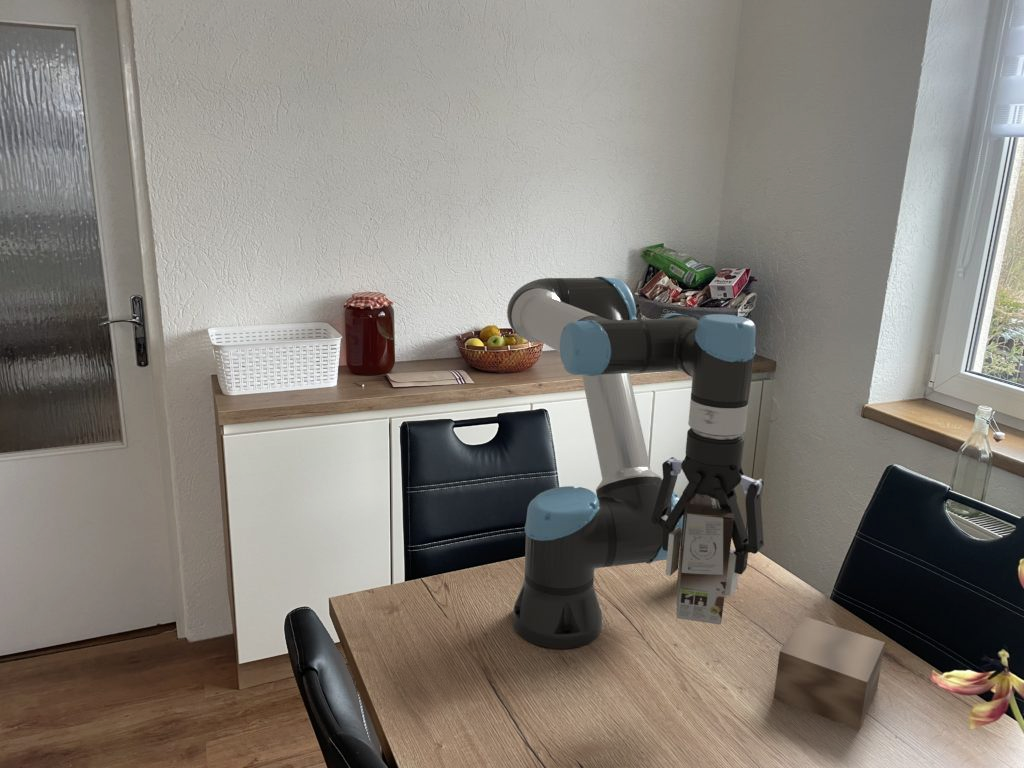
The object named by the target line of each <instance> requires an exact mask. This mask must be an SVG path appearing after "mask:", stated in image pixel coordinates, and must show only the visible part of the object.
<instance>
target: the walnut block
mask: <svg viewBox="0 0 1024 768" xmlns="http://www.w3.org/2000/svg"><path fill="white" fill-rule="evenodd" d="M885 644H886V642H885V641H881V640H880V639H875V638H872V637H869V636H866V635H863V634H860V633H857V632H855V631H851V630H848V629H845V628H841V627H839V626H836V625H833V624H829V623H826V622H823V621H821V620H817V619H814V618H811V617H808V616H805V615H802V617H801V618H800V620H799V621H798V623H797V624H796V626H795V627H794V629H793V630H792V631H791V633H790V635H789V636H788V638H787V639H786V641H785V642H784V644H783V645H782V647H781V648H780V650H779V654H778V659H777V660H778V661H777V669H776V675H775V676H776V678H775V685H774V692H773V698H775V699H777V700H780V701H782V702H785V703H787V704H790V705H793V706H794V707H798V708H800V709H803V710H805V711H808V712H810V713H812V714H815V715H818V716H820V717H824V718H826V719H829V720H830V721H833V722H837V723H838V724H841V725H843V726H846V727H849V728H851V729H854V730H856V731H861V728H862V726H863V723H864V721H865V719H866V717H867V714H868V711H869V709H870V707H871V704H872V701H873V699H874V697H875V696H876V695H875V694H876V692H877V689H878V687H879V686H878V685H879V679H880V676H881V675H880V674H881V669H882V663H883V656H884V650H885V646H886V645H885Z"/></svg>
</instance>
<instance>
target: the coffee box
mask: <svg viewBox="0 0 1024 768" xmlns="http://www.w3.org/2000/svg"><path fill="white" fill-rule="evenodd" d="M733 523H734V514H733V512H729V511H726V510H723V509H722V507H720V505H719V502H718V499H714V498H711V497H709V496H708V495H699V494H696V495H695V496H694V497H693V498H692V499H691V500H689V501H686V504H685V509H684V514H683V523H682V534H681V545H680V553H679V563H678V569H677V579H676V580H677V581H676V583H677V584H676V618H677V619H681V620H685V621H686V620H687V621H694V622H700V623H707V624H712V625H721V624H722V620H723V613H724V612H723V610H724V605H725V604H724V603H725V598H726V597H725V596H726V595H725V589H726V580H727V572H728V563H729V555H730V551H731V546H732V531H733Z"/></svg>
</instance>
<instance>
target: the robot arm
mask: <svg viewBox="0 0 1024 768" xmlns="http://www.w3.org/2000/svg"><path fill="white" fill-rule="evenodd" d="M636 314H637V307H636V302H635V299H634V296H633V294H632V291H631V289H630V288H629V287H628V285H627V284H626V283H625V282H624V281H623V280H620V279H619V278H615V277H604V276H594V277H559V278H558V277H545V278H539V279H535V280H532V281H530V282H527V283H525V284H523V285H522V286H521V287H519V288H517V290H516V291H515V292H514V294H512V296H511V298H510V299H509V301H508V304H507V310H506V317H507V321H508V323H509V326H510V328H511V329H512V330H513V332H514V333H515V334H516V335H518V336H519V337H520V338H522V339H524V340H525V341H527V342H530V343H531V342H532V343H542V344H543V345H546V346H548V347H550V349H551V348H552V349H553V350H555V351H557V352H558V353H559V354H560V360H561V363H562V364H563V368H564V370H565V371H566V372H567V373H568V374H570V375H573V376H574V375H575V376H581V377H582V383H583V388H584V393H585V397H586V404H587V407H588V412H589V417H590V424H591V428H592V429H591V430H592V435H593V439H594V443H595V444H594V445H595V450H596V455H597V459H598V463H599V469H600V474H601V480H600V483H599V484H598V485H597V487H596V489H595V492H594V491H592V490H590V489H589V488H585V487H581V486H578V487H574V486H570V485H569V486H567V485H566V486H560V487H554V488H550V489H547V490H545V491H543V492H540V493H539V494H537V495H536V496H535V497H534V498H533V499H532V500H531V501H530V502H529V504H528V506H527V510H526V511H527V512H526V521H525V524H524V532H525V549H524V550H525V551H524V552H525V553H524V581H523V583H522V585H521V588H520V591H519V593H518V596H517V598H516V600H515V603H514V606H513V610H512V626H513V629H514V631H515V632H516V633H517V634H518V635H519V636H520V637H521V638H522V639H524V640H526V641H527V642H529V643H532V644H534V645H536V646H540V647H544V648H548V649H558V650H560V649H561V650H562V649H574V648H579V647H583V646H585V645H588V644H589V643H592V642H593V641H594V640H595V639H597V637H598V636H599V635H600V634H601V632H602V626H603V625H602V623H603V613H602V609H601V608H600V603H599V599H598V596H597V592H596V589H595V584H594V580H595V579H594V578H595V570H596V569H601V568H609V567H610V568H612V567H618V566H620V567H621V566H628V565H637V564H643V563H645V564H652V563H654V562H659V561H664V560H666V566H665V575H666V576H668V577H671V576H672V575H673V574H674V573H675V572H677V571H678V568H679V556H680V545H681V534H682V523H683V514H684V509H685V504H686V501H689V500H691V499H692V498H693V497H694V496H695V495H696V494H699V495H708V496H709V497H711V498H714V499H718V502H719V505H720V507H722V509H723V510H726V511H729V512H733V514H734V523H733V531H732V539H731V541H732V543H733V546H734V547H733V548H732V549H730V555H729V563H728V572H727V580H726V589H725V596H728V597H731V596H732V595H733V594H734V593H735V591H736V590H737V589H738V582H739V575H742V574H743V573H744V572H745V571H746V569H747V567H748V558H749V553H751V554H753V555H754V554H755V555H756V554H757V553H758V552H759V551H760V550H761V549H762V547H764V546H765V543H764V541H765V539H764V529H763V516H762V500H761V494H762V490H763V487H764V480H763V479H762V478H760V477H759V478H756V479H754V478H751V477H748V476H747V475H744V471H743V469H742V461H743V455H744V448H745V447H744V444H745V436H744V435H743V433H745V432H746V428H747V418H748V410H749V399H750V392H751V387H752V385H751V384H752V376H753V368H754V362H755V355H756V352H757V350H756V349H757V348H756V331H757V330H756V329H757V328H756V324H755V322H754V321H752V320H751V319H750V318H747V317H743V316H738V315H734V314H724V313H721V314H720V313H719V314H715V313H714V314H707V315H703V316H701V317H700V318H699V319H697V318H696V317H693V316H691V315H688V314H681V313H676V312H675V313H668V314H665V315H663V316H661V317H659V318H650V319H649V318H647V319H645V318H644V319H641V318H640V319H637V317H636ZM661 372H666V373H667V372H680V373H681V372H682V373H684V374H686V375H688V376H690V377H691V392H690V403H689V411H688V412H689V413H688V414H689V415H688V422H687V423H688V426H689V427H690V428H689V429H688V430H687V433H686V442H685V444H686V445H685V457H684V459H683V460H678V459H677V458H676V457H674V456H672V457H669V459H667V460H665V461H664V462H663V463H662V476H660V475H659V474H657V473H656V472H654V471H652V469H651V465H650V460H649V456H648V451H647V447H646V442H645V437H644V433H643V429H642V425H641V420H640V415H639V410H638V407H637V401H636V398H635V392H634V388H633V384H632V379H631V376H630V375H631V374H634V373H635V374H638V373H639V374H642V373H661ZM681 472H683V474H684V475H685V477H686V480H687V482H688V483H687V485H686V486H685V488H684V490H683V491H682V494H681V495H680V497H679V496H678V494H677V492H675V491H674V490H675V487H676V483H677V480H678V476H679V474H680V473H681ZM738 485H741V486H742V492H743V494H744V495H746V496H745V512H746V514H745V515H746V525H747V526H745V522H744V520H743V517H742V514H741V510H740V507H739V504H738V502H737V500H738V499H737V497H738V495H737V493H736V490H735V488H736V487H737V486H738ZM746 527H747V528H746Z"/></svg>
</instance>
